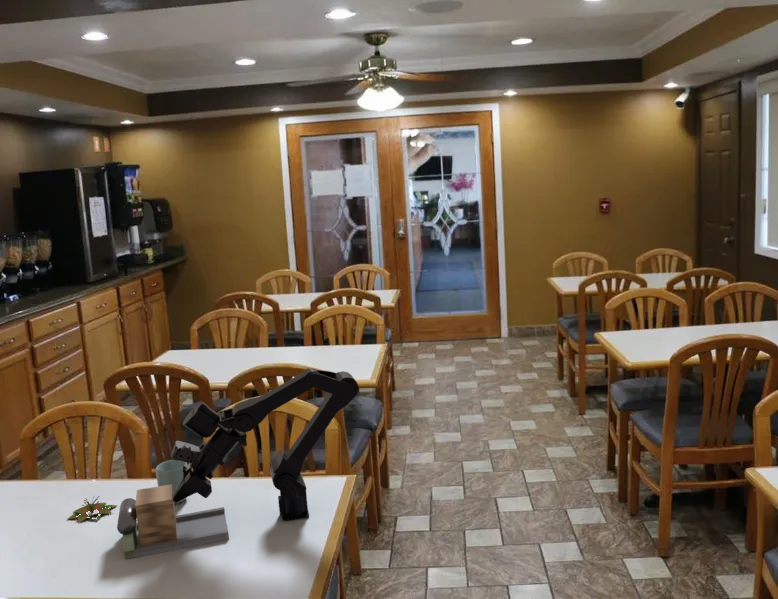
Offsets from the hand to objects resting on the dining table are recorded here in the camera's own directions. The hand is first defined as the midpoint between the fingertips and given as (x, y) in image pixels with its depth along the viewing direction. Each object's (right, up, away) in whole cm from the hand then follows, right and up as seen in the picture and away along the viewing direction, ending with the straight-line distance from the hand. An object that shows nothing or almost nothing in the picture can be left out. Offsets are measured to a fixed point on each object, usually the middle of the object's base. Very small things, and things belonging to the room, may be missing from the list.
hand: (174, 500), depth 175 cm
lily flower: (-26, -8, +17) cm, 32 cm away
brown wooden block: (-4, -8, 0) cm, 9 cm away
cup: (-6, -6, +21) cm, 22 cm away
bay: (0, -9, +1) cm, 9 cm away
